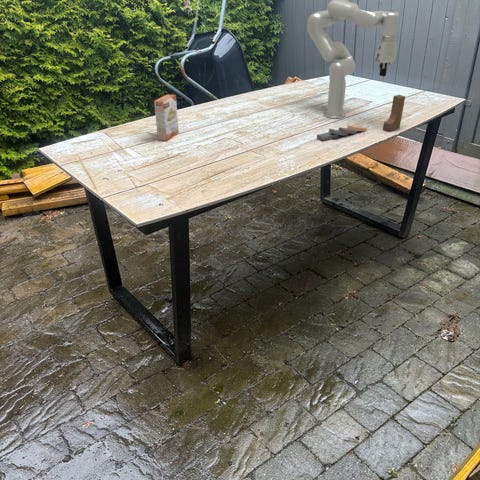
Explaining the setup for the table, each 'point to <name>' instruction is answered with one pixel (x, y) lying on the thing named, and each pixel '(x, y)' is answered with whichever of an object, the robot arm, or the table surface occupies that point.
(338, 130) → the domino
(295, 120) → the table surface
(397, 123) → the wooden block
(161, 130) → the cracker box
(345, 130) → the domino
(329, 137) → the domino
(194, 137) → the table surface
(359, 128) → the domino
